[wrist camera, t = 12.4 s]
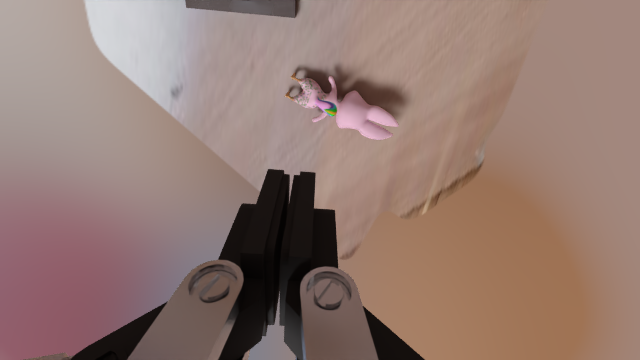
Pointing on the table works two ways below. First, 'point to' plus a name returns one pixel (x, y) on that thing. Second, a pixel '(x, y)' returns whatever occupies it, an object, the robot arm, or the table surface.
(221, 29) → the table surface
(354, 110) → the pink animal figure
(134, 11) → the table surface
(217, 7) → the pivot stand
